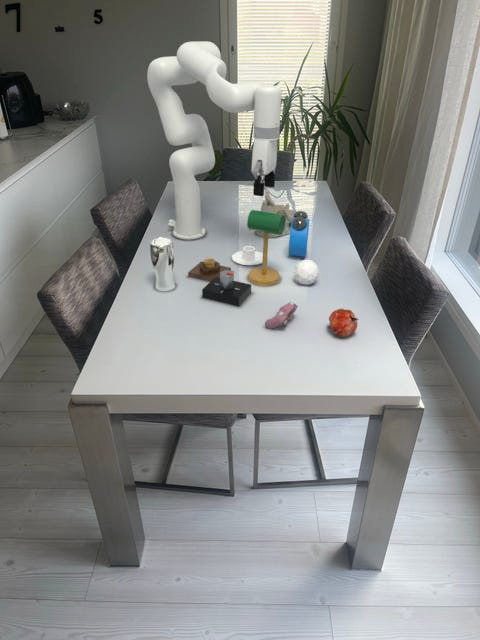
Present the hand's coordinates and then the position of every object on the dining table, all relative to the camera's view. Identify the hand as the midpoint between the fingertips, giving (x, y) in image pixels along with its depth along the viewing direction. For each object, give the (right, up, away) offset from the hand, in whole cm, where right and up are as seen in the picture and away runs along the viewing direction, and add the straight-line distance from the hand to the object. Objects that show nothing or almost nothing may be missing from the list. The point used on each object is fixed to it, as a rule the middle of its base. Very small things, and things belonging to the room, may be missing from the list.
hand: (264, 191), depth 143 cm
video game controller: (+4, -41, -17) cm, 45 cm away
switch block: (-17, -25, +6) cm, 31 cm away
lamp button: (-17, -23, +5) cm, 29 cm away
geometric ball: (+13, -29, +3) cm, 32 cm away
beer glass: (-31, -30, -1) cm, 43 cm away
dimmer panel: (-11, -33, -5) cm, 35 cm away
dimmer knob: (-11, -30, -7) cm, 33 cm away
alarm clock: (+13, -17, +20) cm, 30 cm away
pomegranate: (+19, -44, -21) cm, 52 cm away
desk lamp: (0, -27, +5) cm, 27 cm away
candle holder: (-4, -19, +16) cm, 26 cm away
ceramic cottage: (+7, -5, +39) cm, 40 cm away
